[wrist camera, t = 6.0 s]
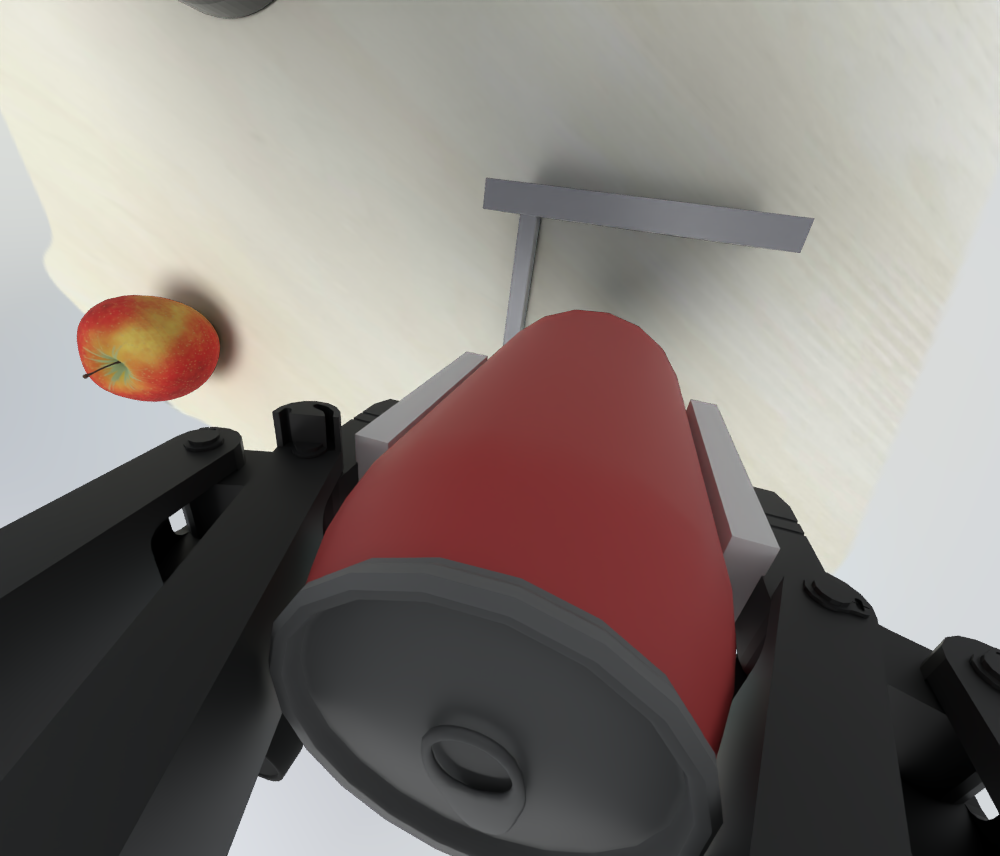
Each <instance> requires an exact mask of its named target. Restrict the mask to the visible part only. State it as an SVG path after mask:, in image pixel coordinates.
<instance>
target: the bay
mask: <svg viewBox="0 0 1000 856" xmlns="http://www.w3.org/2000/svg"><path fill="white" fill-rule="evenodd" d="M483 209H490V210H496V211H502V212H509V213H515V214H520V220H519V228H518V235H517V243H516V250H515V258H514V266H513V273H512V281H511V288H510V296H509V304H508V311H507V319H506V326H505V334H504V342H503V346H504V345H505V344H506V343H507V342H508V341H509V340H510V339H512V338H513V337H514V336H515V335H516V334H517V333H518V332H520V331H521V330H523V329H524V325H525V318H526V312H527V305H528V298H529V292H530V285H531V279H532V272H533V266H534V259H535V252H536V246H537V239H538V233H539V226H540V220H541V217H543V218H550V219H557V220H564V221H571V222H578V223H585V224H593V225H600V226H607V227H614V228H621V229H628V230H635V231H642V232H650V233H657V234H664V235H671V236H678V237H685V238H692V239H699V240H706V241H714V242H721V243H728V244H735V245H742V246H749V247H757V248H765V249H773V250H781V251H789V252H797V253H800V252H801V250H802V247H803V245H804V242H805V240H806V238H807V235H808V233H809V230H810V228H811V226H812V223H813V221H814V218H807V217H798V216H790V215H782V214H774V213H766V212H758V211H750V210H742V209H734V208H726V207H718V206H710V205H702V204H694V203H686V202H678V201H670V200H662V199H654V198H645V197H637V196H629V195H621V194H613V193H605V192H597V191H589V190H581V189H573V188H565V187H557V186H549V185H541V184H533V183H525V182H517V181H509V180H501V179H493V178H486V183H485V194H484V204H483Z"/></svg>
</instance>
